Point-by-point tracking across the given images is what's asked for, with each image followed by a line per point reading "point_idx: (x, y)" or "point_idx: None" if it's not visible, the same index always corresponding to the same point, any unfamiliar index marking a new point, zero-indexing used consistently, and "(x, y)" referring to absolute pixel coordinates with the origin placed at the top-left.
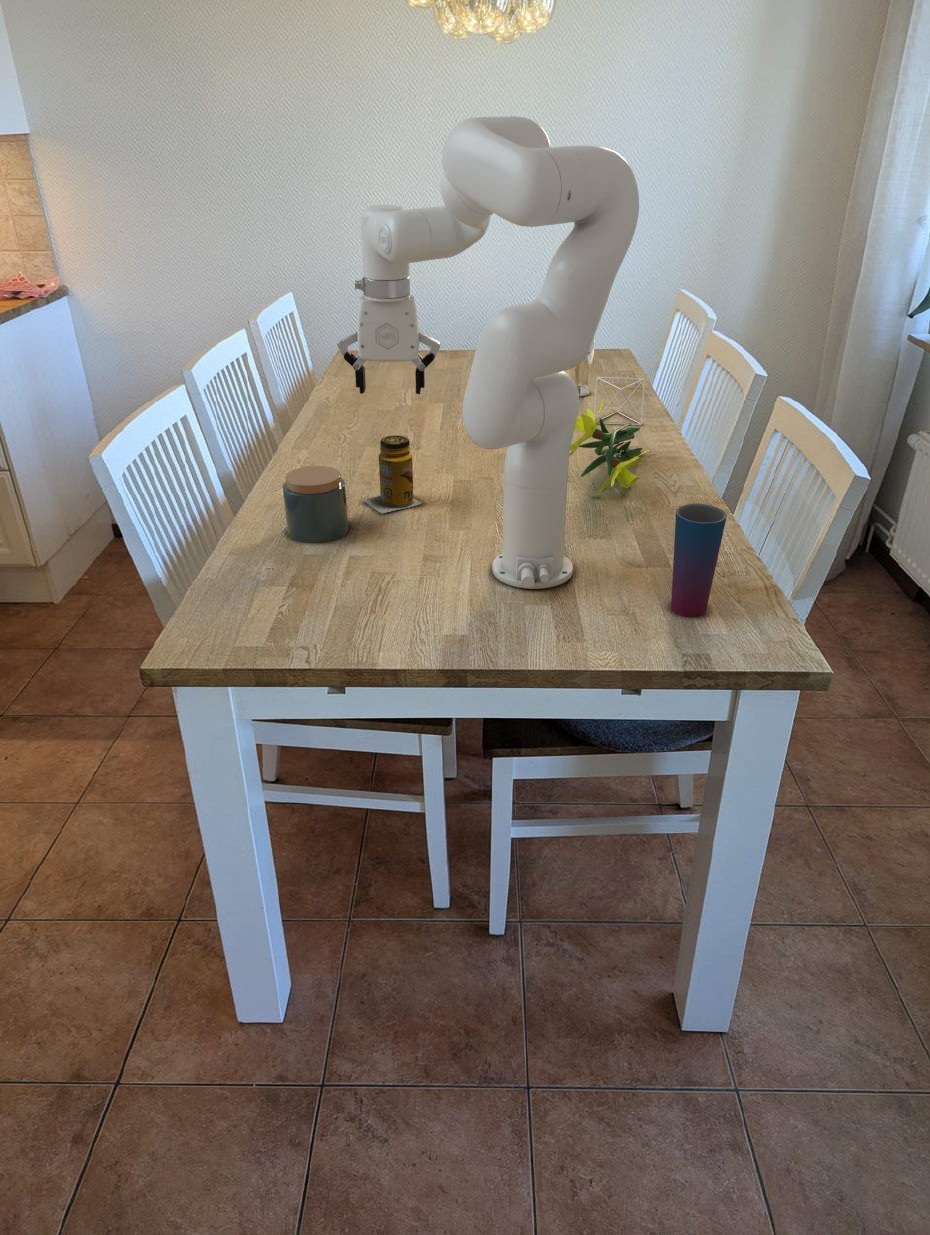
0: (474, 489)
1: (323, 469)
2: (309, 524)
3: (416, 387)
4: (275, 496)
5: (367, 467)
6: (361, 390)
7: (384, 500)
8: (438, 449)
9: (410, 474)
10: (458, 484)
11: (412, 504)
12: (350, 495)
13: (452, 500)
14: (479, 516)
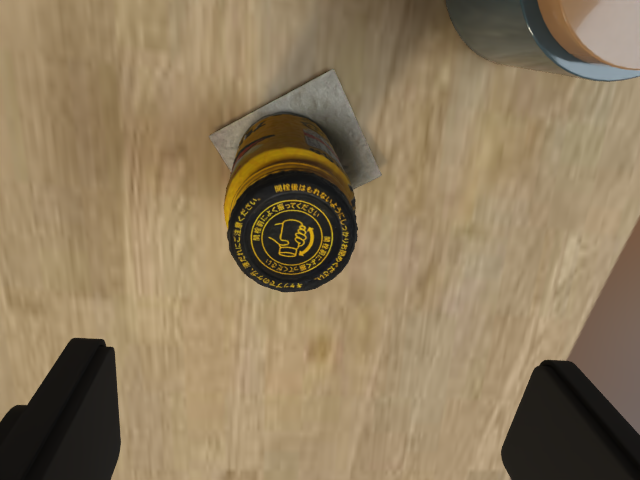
0: (56, 233)
1: (616, 10)
2: None
3: (86, 381)
4: (592, 230)
5: (352, 383)
6: (570, 373)
7: (324, 134)
8: (178, 473)
9: (237, 159)
10: (109, 271)
11: (240, 134)
12: (409, 220)
13: (117, 157)
14: (10, 10)
